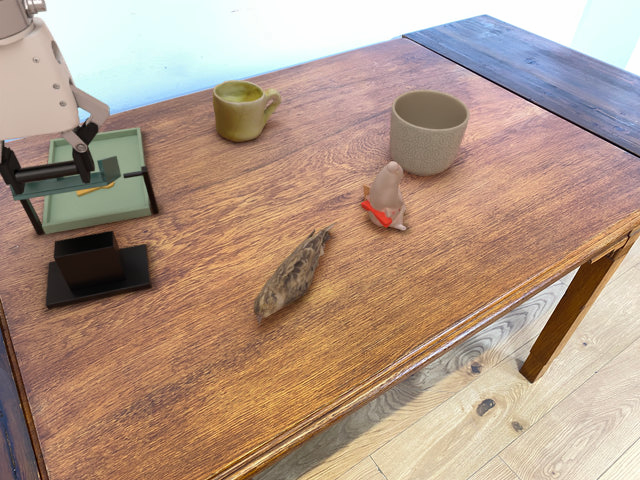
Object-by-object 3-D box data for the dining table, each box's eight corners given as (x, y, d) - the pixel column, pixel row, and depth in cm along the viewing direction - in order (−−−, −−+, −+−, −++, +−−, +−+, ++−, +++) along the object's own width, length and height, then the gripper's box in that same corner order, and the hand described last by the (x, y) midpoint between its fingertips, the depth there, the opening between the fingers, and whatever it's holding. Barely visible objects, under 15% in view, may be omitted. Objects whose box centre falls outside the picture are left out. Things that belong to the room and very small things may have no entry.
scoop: (102, 189, 55) (94, 156, 54) (1, 205, 53) (-9, 172, 52) (121, 176, 73) (115, 152, 73) (46, 188, 71) (39, 163, 70)
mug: (208, 143, 89) (213, 84, 85) (209, 127, 98) (214, 74, 94) (278, 151, 92) (286, 94, 88) (273, 135, 101) (279, 84, 97)
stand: (168, 284, 69) (156, 242, 63) (29, 313, 65) (2, 271, 60) (158, 207, 80) (146, 165, 74) (38, 228, 76) (16, 186, 70)
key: (116, 183, 83) (116, 185, 83) (111, 176, 84) (111, 178, 84) (79, 197, 80) (80, 199, 80) (74, 189, 81) (75, 191, 82)
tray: (151, 215, 79) (149, 207, 78) (45, 234, 75) (41, 226, 74) (141, 134, 94) (139, 126, 93) (53, 147, 91) (50, 139, 89)
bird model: (285, 332, 60) (254, 304, 60) (263, 343, 65) (234, 317, 64) (360, 224, 73) (335, 200, 73) (338, 239, 78) (314, 217, 77)
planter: (387, 185, 85) (395, 129, 78) (381, 142, 94) (389, 88, 86) (461, 187, 85) (477, 131, 78) (449, 144, 94) (462, 90, 86)
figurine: (420, 220, 79) (429, 165, 70) (390, 245, 77) (396, 191, 67) (377, 189, 84) (380, 134, 74) (348, 212, 81) (347, 158, 71)
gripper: (88, -10, 48) (134, 149, 61) (-124, 7, 44) (-27, 174, 57) (87, 22, 43) (138, 188, 56) (-152, 45, 39) (-39, 218, 52)
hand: (54, 180), depth 56 cm, fingers closed on scoop, 6 cm apart
